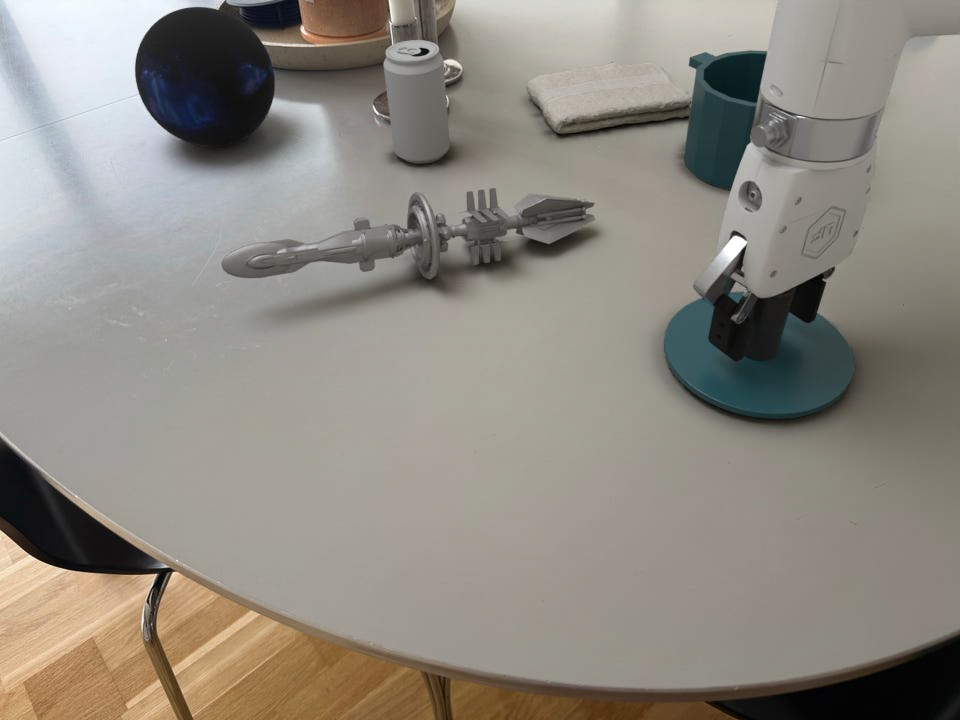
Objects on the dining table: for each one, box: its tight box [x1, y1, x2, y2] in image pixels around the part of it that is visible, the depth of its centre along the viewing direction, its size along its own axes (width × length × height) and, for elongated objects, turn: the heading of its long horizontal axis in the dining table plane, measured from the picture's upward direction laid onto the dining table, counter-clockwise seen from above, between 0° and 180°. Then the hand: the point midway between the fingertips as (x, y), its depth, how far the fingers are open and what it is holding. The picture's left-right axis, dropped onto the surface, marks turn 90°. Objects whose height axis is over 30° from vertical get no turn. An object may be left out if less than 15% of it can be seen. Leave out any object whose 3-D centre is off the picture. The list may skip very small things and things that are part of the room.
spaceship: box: [220, 187, 596, 280], centre depth 74 cm, size 8×35×8 cm
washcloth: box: [525, 61, 693, 135], centre depth 99 cm, size 12×18×3 cm, turn 104°
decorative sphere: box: [134, 6, 276, 147], centre depth 93 cm, size 15×15×15 cm
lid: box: [663, 286, 855, 420], centre depth 64 cm, size 15×15×8 cm
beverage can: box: [382, 39, 451, 165], centre depth 89 cm, size 6×6×12 cm
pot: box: [683, 49, 768, 192], centre depth 86 cm, size 14×19×10 cm
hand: (761, 330), depth 64 cm, fingers open, 7 cm apart
